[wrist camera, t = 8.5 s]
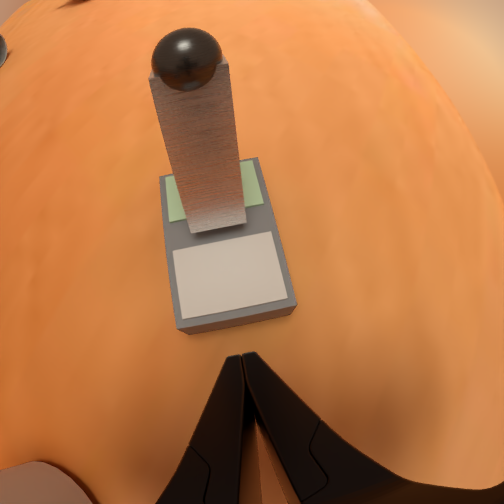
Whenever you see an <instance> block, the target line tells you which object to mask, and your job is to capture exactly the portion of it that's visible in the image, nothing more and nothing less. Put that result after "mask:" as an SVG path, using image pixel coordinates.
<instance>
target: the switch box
mask: <svg viewBox="0 0 504 504" xmlns="http://www.w3.org/2000/svg"><path fill="white" fill-rule="evenodd" d="M239 161H240V169H241V178H242V187H243V195H244V204H245V212H246V221H247V223H242V224H237V225H232V226H227V227H222V228H217V229H212V230H207V231H202V232H197V233H192V234H191V232H190V228H189V225H188V222H187V219H186V215H185V212H184V209H183V205H182V202H181V199H180V195H179V192H178V188H177V185H176V182H175V178H174V175H173V174H169V175H164V176H160V177H159V178H160V193H161V205H162V217H163V227H164V237H165V247H166V255H167V264H168V272H169V280H170V287H171V294H172V301H173V308H174V314H175V321H176V327H177V329H178V330H180V331H182V332H184V333H186V334H188V335H191V334H196V333H202V332H207V331H213V330H218V329H224V328H229V327H234V326H239V325H244V324H249V323H254V322H258V321H263V320H268V319H272V318H277V317H281V316H286V315H290V314H291V313H292V311H293V310H294V309H295V307H296V306H297V302H296V298H295V294H294V290H293V286H292V282H291V278H290V275H289V271H288V267H287V263H286V259H285V255H284V251H283V248H282V244H281V240H280V236H279V232H278V229H277V225H276V221H275V218H274V214H273V210H272V206H271V203H270V199H269V196H268V192H267V188H266V185H265V181H264V178H263V174H262V171H261V167H260V163H259V160H258V157H256V158H250V159H244V160H239Z"/></svg>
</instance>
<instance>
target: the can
mask: <svg viewBox="0 0 504 504" xmlns="http://www.w3.org/2000/svg"><path fill="white" fill-rule="evenodd" d="M0 504H92V502H91V501H90V499H89V498H88V497H87V495H86V494H85V492H84V491H83V490H82V489H81V488H80V487H79V486H78V485H77V484H76V483H75V482H74V481H73V480H72V479H71V478H70V477H69V476H67V475H66V474H64V473H63V472H62V471H60V470H59V469H58V468H56V467H53V466H51V465H49V464H47V463H44V462H37V461H31V462H28V463H24V464H21V465H17V466H14V467H10V468H7V469H3V470H0Z"/></svg>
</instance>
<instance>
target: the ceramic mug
mask: <svg viewBox="0 0 504 504" xmlns="http://www.w3.org/2000/svg"><path fill="white" fill-rule="evenodd" d="M6 57H7V44H6V42H5V39H4V38H3V36H2V35H1V34H0V67H1V66H2V65H3V64H4V62H5V60H6Z"/></svg>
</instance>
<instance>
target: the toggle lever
mask: <svg viewBox="0 0 504 504" xmlns="http://www.w3.org/2000/svg"><path fill="white" fill-rule="evenodd" d="M151 65H152V71H151V73H150V76H149V83H150V87H151V92H152V96H153V100H154V104H155V108H156V112H157V116H158V119H159V123H160V127H161V131H162V135H163V138H164V142H165V146H166V150H167V153H168V157H169V160H170V164H171V168H172V171H173V175H174V178H175V182H176V185H177V188H178V192H179V195H180V199H181V202H182V205H183V209H184V212H185V215H186V219H187V222H188V225H189V228H190V232H191V234H192V233H197V232H202V231H207V230H212V229H217V228H222V227H227V226H232V225H237V224H242V223H247V221H246V212H245V204H244V195H243V187H242V178H241V169H240V161H239V152H238V143H237V135H236V126H235V117H234V109H233V100H232V91H231V83H230V74H229V65H228V62H227V60H226V58H225V57H224V55H223V54H222V50H221V48H220V45H219V43H218V42H217V40H216V39H215V38H214V37H213V36H212V35H210V34H209V33H207V32H205V31H203V30H201V29H197V28H182V29H178V30H175V31H173V32H171V33H169V34H167V35H166V36H165V37H163V38H162V39H161V40H160V41H159V43H158V44H157V46H156V47H155V49H154V51H153V55H152V60H151Z"/></svg>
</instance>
